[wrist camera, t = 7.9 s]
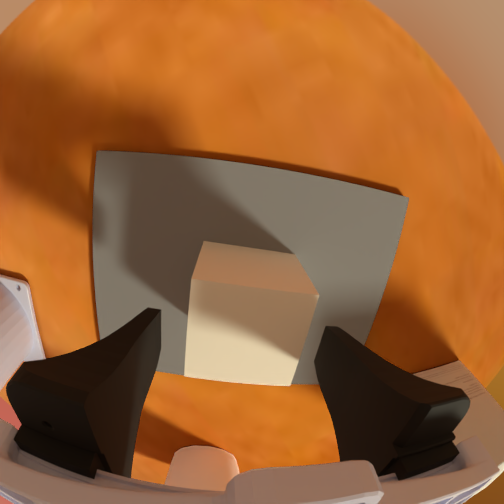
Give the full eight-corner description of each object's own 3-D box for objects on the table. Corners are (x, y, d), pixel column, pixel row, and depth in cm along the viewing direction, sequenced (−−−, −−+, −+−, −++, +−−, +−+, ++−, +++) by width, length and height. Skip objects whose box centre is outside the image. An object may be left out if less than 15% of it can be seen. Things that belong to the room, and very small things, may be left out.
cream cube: (194, 320, 17) (184, 376, 12) (203, 240, 16) (191, 278, 11) (276, 330, 18) (290, 386, 13) (294, 254, 16) (319, 295, 11)
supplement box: (380, 425, 23) (425, 523, 11) (403, 373, 21) (473, 483, 9) (435, 409, 24) (485, 489, 12) (461, 358, 21) (532, 441, 9)
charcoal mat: (106, 355, 18) (103, 360, 18) (101, 150, 14) (97, 150, 14) (345, 378, 20) (347, 383, 20) (404, 196, 16) (409, 197, 15)
